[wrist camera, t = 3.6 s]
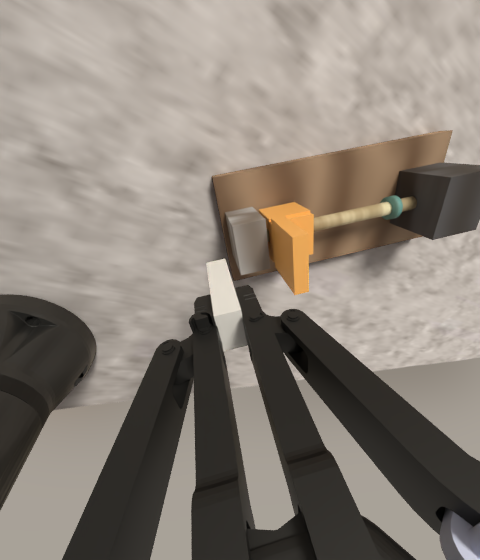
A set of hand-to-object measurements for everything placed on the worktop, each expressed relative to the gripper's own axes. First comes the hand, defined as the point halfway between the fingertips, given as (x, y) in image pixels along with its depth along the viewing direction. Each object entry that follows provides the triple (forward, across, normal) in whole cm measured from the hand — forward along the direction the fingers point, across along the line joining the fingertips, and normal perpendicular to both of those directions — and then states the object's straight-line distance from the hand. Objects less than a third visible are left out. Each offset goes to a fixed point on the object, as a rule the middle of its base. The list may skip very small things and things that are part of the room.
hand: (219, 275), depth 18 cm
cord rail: (+10, +15, 0) cm, 18 cm away
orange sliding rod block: (+8, +8, 0) cm, 11 cm away
